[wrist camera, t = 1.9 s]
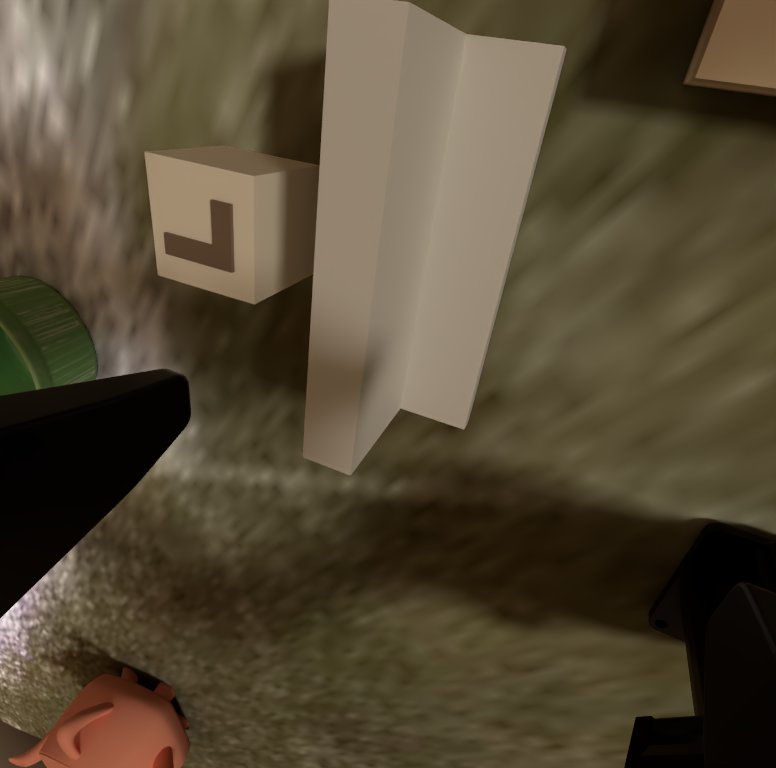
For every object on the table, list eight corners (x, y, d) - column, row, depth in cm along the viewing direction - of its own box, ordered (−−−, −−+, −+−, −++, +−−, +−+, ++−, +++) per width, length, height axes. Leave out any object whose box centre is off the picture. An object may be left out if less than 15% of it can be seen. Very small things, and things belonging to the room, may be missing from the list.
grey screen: (468, 420, 22) (427, 505, 18) (367, 387, 24) (302, 457, 19) (566, 49, 15) (543, 16, 10) (414, 30, 17) (329, -7, 12)
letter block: (314, 273, 22) (252, 305, 18) (229, 250, 23) (155, 276, 20) (320, 165, 20) (250, 176, 16) (226, 145, 21) (141, 151, 17)
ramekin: (68, 418, 35) (4, 452, 31) (-22, 307, 33) (-100, 330, 29) (131, 369, 30) (65, 404, 26) (30, 237, 28) (-55, 254, 25)
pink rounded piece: (141, 641, 46) (37, 755, 38) (229, 728, 48) (147, 858, 39) (93, 669, 55) (-1, 768, 46) (169, 742, 56) (91, 852, 47)
